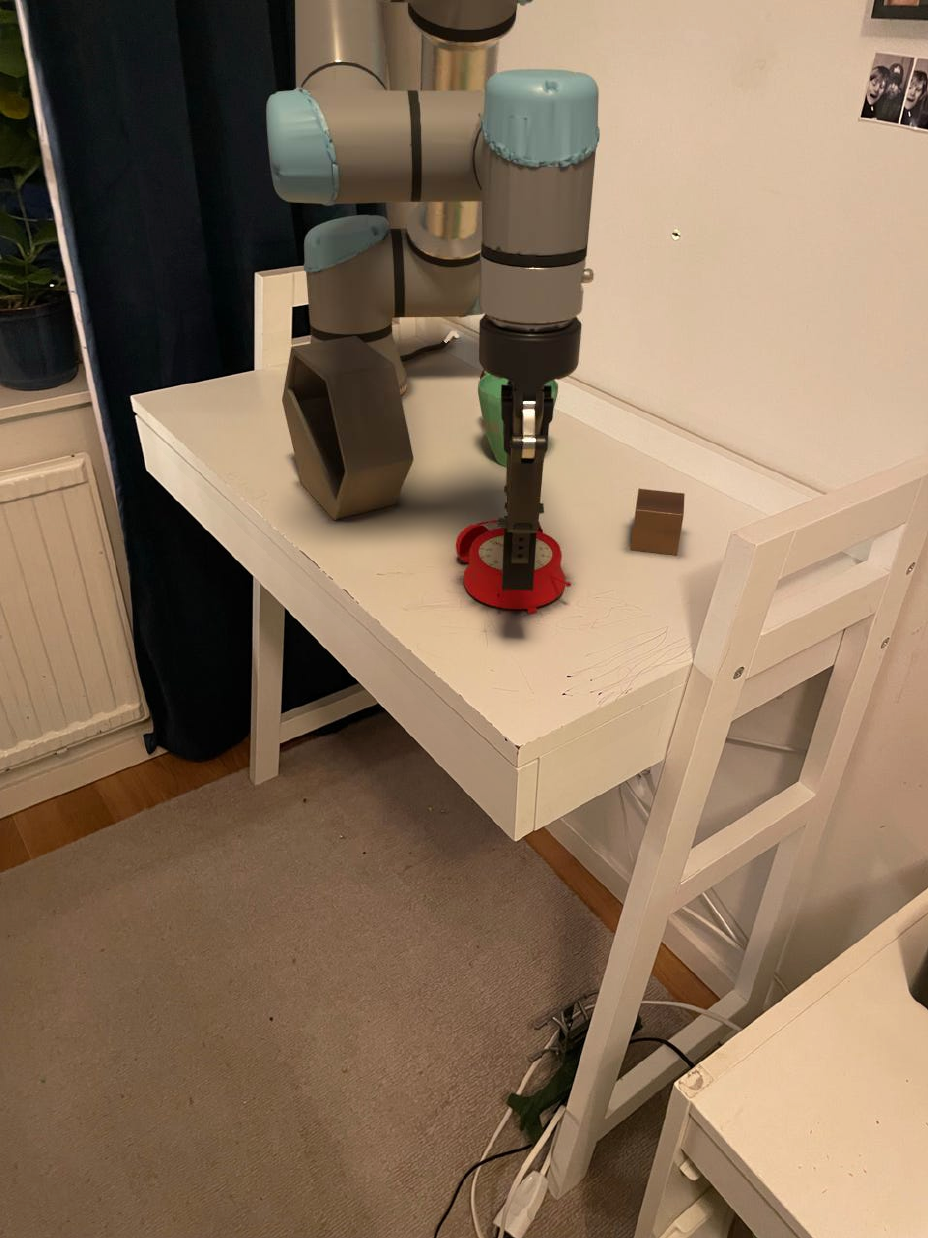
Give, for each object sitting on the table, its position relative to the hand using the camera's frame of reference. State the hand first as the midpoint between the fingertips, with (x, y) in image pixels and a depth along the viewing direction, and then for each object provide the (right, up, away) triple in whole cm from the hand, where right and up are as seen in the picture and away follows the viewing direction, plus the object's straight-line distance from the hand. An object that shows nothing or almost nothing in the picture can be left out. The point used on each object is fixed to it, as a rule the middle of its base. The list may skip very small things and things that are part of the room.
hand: (517, 585), depth 82 cm
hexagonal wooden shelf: (-18, +11, +29) cm, 36 cm away
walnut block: (+16, +6, +21) cm, 27 cm away
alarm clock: (0, +1, +15) cm, 15 cm away
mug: (+1, +19, +39) cm, 44 cm away
